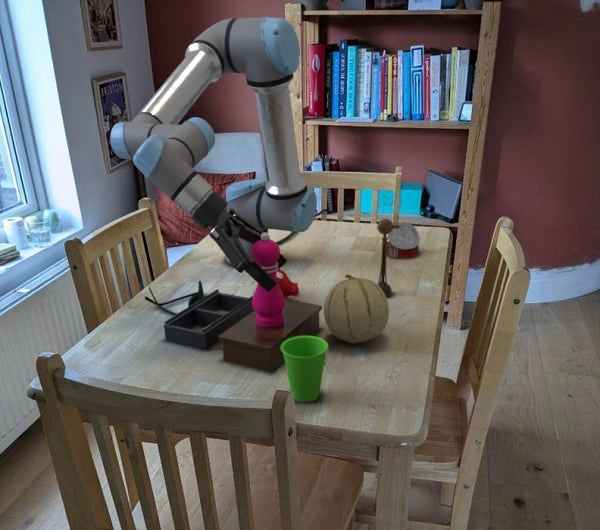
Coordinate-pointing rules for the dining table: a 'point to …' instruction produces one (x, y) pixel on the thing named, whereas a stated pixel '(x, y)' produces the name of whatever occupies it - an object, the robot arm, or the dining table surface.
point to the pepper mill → (272, 301)
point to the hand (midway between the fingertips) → (278, 275)
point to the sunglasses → (193, 299)
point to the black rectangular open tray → (207, 319)
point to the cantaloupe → (356, 310)
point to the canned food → (403, 242)
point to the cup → (304, 365)
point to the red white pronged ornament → (284, 284)
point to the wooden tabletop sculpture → (385, 228)
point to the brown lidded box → (268, 336)
